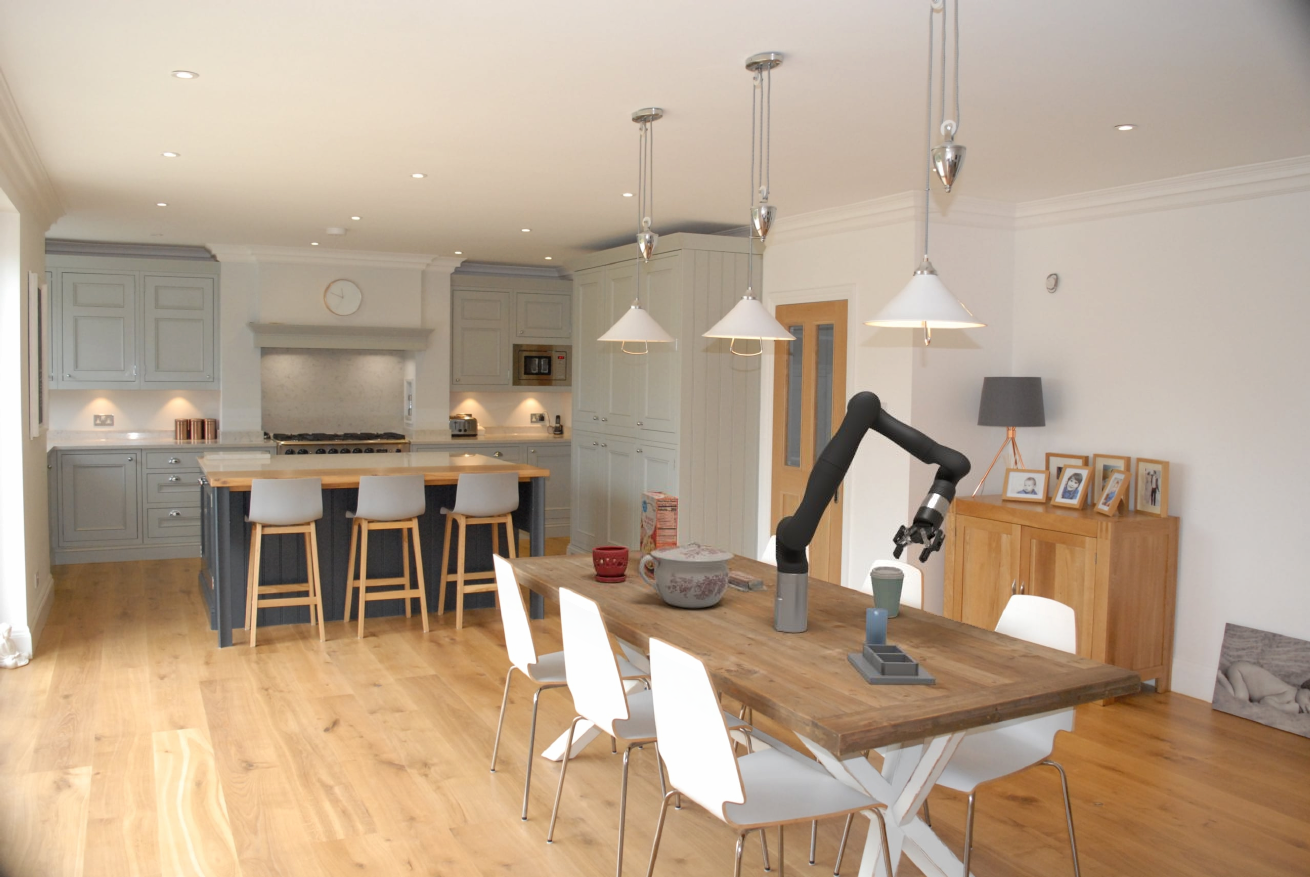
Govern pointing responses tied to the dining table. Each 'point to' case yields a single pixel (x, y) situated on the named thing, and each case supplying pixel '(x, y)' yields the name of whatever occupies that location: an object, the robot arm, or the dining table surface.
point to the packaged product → (745, 582)
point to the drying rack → (889, 666)
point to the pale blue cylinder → (876, 626)
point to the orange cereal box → (657, 524)
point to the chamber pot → (689, 574)
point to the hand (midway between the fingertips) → (908, 559)
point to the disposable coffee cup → (887, 588)
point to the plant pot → (610, 563)
